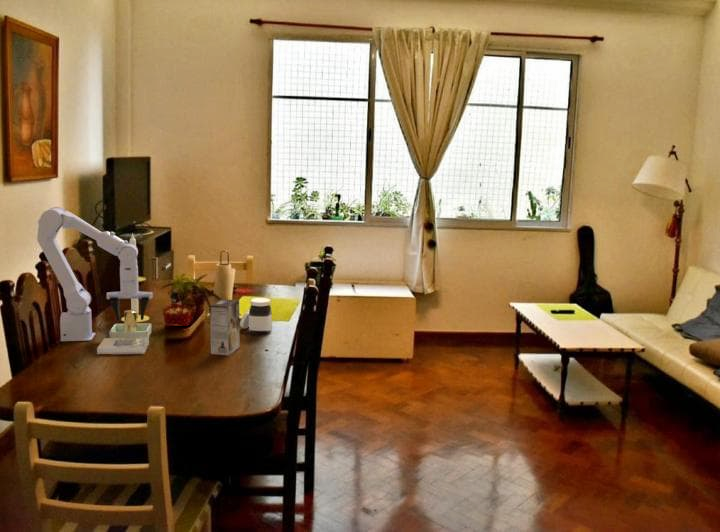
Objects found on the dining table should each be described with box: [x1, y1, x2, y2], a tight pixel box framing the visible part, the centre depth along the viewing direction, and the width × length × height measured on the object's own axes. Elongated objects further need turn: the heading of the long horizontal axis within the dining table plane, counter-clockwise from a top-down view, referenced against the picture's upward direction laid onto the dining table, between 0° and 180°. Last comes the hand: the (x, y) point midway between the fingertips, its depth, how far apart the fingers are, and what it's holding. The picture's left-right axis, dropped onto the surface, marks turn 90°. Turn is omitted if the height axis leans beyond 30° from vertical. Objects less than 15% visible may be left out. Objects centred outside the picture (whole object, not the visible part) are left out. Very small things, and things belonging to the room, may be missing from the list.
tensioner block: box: [96, 337, 150, 356], centre depth 214 cm, size 14×11×2 cm
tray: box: [108, 323, 153, 339], centre depth 228 cm, size 12×10×3 cm
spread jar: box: [239, 297, 273, 336], centre depth 238 cm, size 12×11×12 cm
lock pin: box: [123, 309, 138, 332], centre depth 227 cm, size 4×4×8 cm
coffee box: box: [209, 298, 241, 356], centre depth 214 cm, size 9×6×16 cm
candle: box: [120, 232, 150, 324], centre depth 246 cm, size 10×10×32 cm
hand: (130, 319), depth 227 cm, fingers open, 7 cm apart
